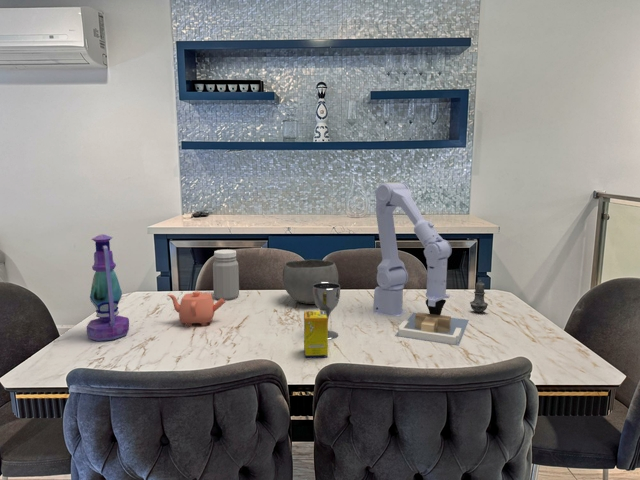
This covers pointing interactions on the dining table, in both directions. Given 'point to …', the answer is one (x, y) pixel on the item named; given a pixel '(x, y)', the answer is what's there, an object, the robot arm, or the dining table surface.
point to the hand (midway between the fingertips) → (434, 322)
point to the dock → (428, 334)
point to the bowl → (307, 277)
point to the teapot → (196, 308)
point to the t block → (432, 322)
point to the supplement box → (315, 334)
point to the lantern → (105, 295)
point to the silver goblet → (327, 299)
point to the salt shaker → (479, 298)
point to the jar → (225, 275)
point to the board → (454, 324)
